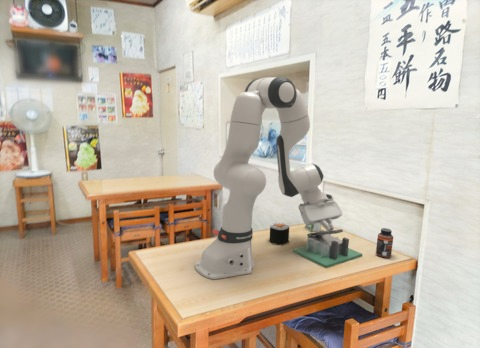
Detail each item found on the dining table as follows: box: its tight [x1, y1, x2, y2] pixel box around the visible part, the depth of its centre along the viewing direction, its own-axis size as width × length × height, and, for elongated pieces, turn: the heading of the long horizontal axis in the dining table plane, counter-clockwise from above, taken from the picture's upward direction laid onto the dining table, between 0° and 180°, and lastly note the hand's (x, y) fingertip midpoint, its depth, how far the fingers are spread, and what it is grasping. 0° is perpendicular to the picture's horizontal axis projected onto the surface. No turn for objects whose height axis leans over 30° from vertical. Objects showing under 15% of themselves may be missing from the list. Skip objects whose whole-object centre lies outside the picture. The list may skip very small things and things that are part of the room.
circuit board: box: [292, 245, 363, 269], centre depth 142 cm, size 22×18×1 cm
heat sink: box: [305, 229, 342, 258], centre depth 143 cm, size 14×13×6 cm
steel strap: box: [312, 229, 344, 235], centre depth 141 cm, size 4×13×1 cm, turn 34°
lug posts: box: [330, 237, 350, 260], centre depth 137 cm, size 8×2×7 cm, turn 124°
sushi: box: [268, 222, 290, 246], centre depth 154 cm, size 8×8×8 cm
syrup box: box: [304, 223, 322, 233], centre depth 171 cm, size 6×6×14 cm
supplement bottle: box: [375, 227, 394, 259], centre depth 142 cm, size 6×6×11 cm
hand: (330, 230), depth 140 cm, fingers closed, pressing on steel strap
